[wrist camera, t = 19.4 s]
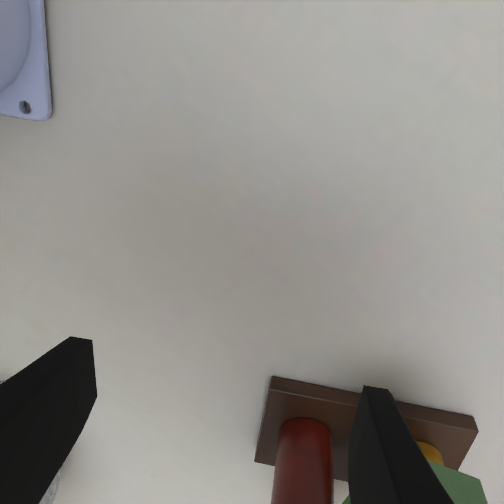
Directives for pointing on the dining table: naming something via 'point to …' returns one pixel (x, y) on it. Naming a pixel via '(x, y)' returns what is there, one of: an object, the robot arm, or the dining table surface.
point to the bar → (456, 486)
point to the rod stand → (339, 438)
